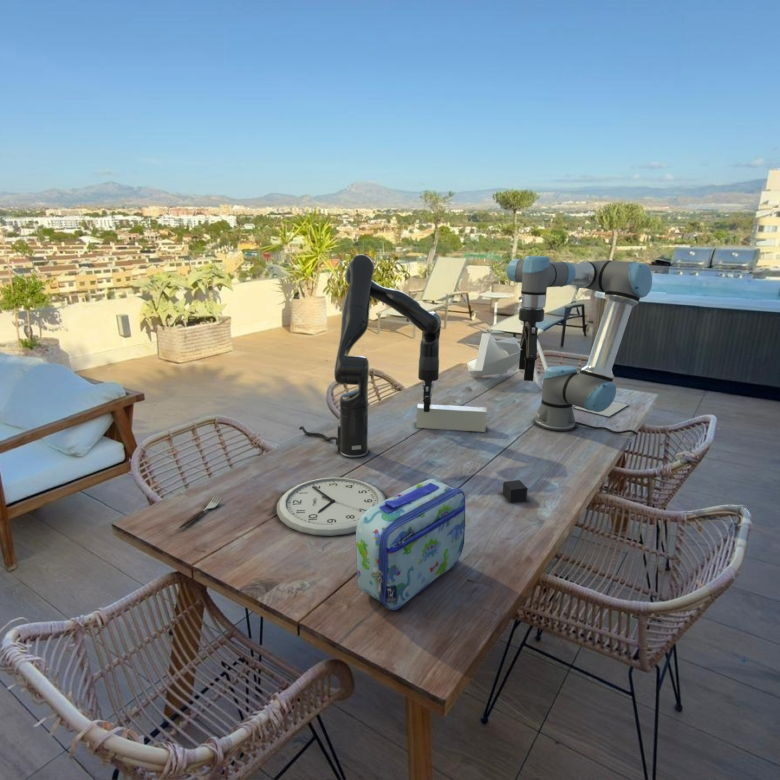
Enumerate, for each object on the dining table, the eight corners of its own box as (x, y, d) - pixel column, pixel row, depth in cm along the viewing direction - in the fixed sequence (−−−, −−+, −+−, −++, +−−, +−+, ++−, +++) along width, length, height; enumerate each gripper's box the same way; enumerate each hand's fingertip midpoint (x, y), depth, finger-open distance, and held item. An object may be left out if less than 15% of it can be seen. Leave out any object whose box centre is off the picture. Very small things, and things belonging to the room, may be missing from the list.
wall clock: (392, 527, 129) (268, 531, 127) (391, 533, 130) (269, 537, 127) (383, 473, 158) (282, 475, 155) (383, 478, 158) (282, 480, 156)
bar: (484, 427, 201) (486, 407, 199) (485, 431, 196) (486, 411, 194) (417, 423, 204) (417, 403, 201) (416, 427, 199) (416, 407, 197)
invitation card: (608, 416, 214) (573, 407, 224) (608, 416, 214) (573, 408, 224) (628, 404, 229) (594, 396, 238) (628, 405, 229) (594, 397, 238)
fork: (174, 529, 130) (174, 521, 130) (216, 499, 144) (215, 492, 144) (183, 531, 129) (182, 524, 129) (223, 501, 144) (223, 494, 143)
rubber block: (518, 492, 152) (519, 479, 150) (526, 500, 147) (527, 488, 146) (502, 494, 151) (503, 481, 149) (509, 502, 146) (511, 489, 145)
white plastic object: (487, 418, 267) (468, 395, 242) (469, 346, 289) (449, 318, 264) (558, 394, 255) (545, 368, 230) (533, 321, 277) (518, 289, 252)
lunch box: (385, 624, 100) (387, 528, 94) (349, 596, 108) (348, 506, 101) (468, 566, 118) (474, 482, 112) (432, 545, 125) (436, 466, 119)
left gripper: (420, 361, 201) (418, 401, 206) (417, 371, 188) (415, 413, 192) (439, 362, 200) (437, 402, 205) (438, 372, 187) (436, 414, 191)
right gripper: (515, 302, 172) (509, 364, 179) (524, 313, 149) (517, 385, 155) (538, 302, 171) (532, 365, 178) (551, 314, 148) (543, 386, 154)
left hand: (427, 408), depth 199 cm, fingers open, 8 cm apart
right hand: (525, 374), depth 166 cm, fingers open, 13 cm apart
